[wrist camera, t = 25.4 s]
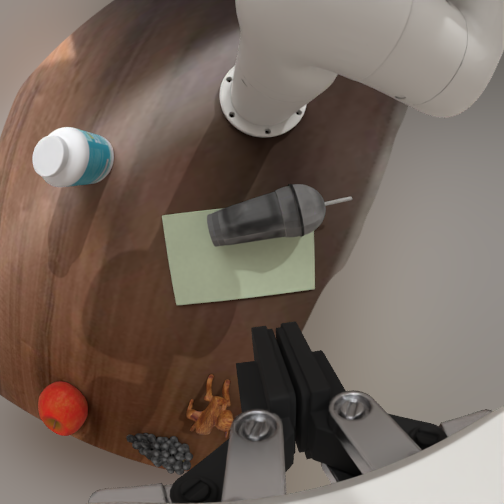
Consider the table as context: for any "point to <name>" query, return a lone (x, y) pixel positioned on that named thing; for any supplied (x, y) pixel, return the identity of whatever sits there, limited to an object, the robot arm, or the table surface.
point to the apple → (62, 408)
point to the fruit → (163, 451)
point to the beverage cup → (270, 216)
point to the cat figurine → (212, 411)
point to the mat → (233, 263)
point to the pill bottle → (73, 157)
